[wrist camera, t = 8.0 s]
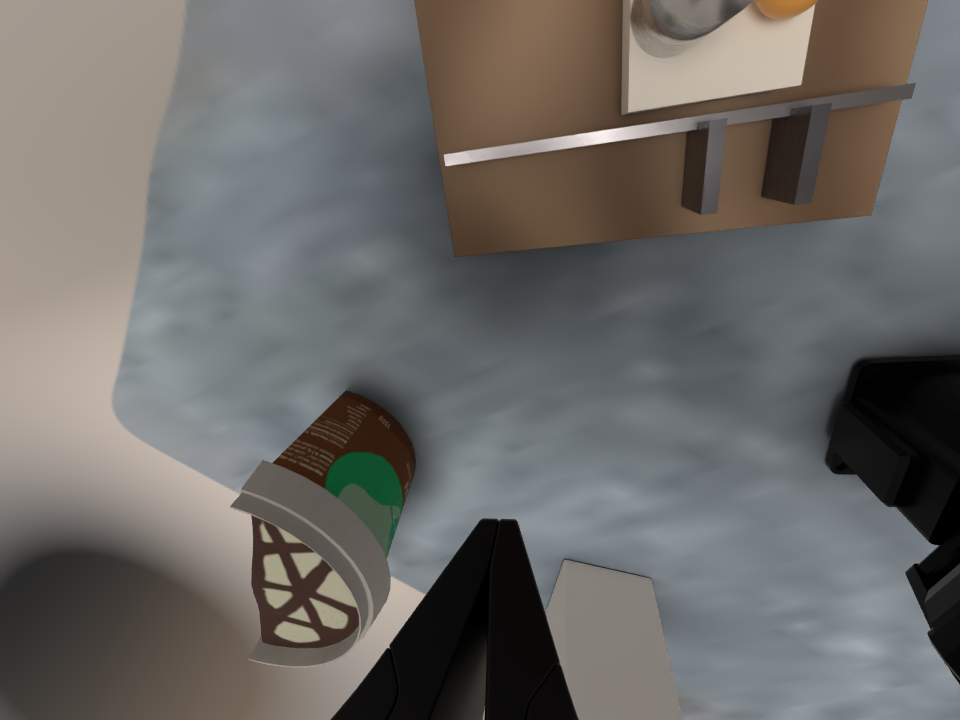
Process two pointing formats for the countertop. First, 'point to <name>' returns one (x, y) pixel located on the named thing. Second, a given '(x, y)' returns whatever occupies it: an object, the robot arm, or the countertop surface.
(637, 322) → the countertop surface
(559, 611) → the milk
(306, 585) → the food container
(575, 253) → the countertop surface
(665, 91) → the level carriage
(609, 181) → the stand
